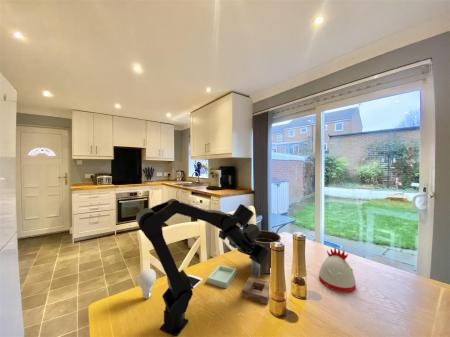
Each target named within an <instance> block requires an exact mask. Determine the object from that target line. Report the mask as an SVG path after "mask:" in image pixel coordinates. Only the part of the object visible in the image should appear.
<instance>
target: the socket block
mask: <svg viewBox="0 0 450 337" xmlns="http://www.w3.org/2000/svg"><path fill="white" fill-rule="evenodd" d="M269 282H270V281H267V280H264V279H260V278H257V277H253V276H249V277H248V279H247V281H246V282H245V284H244V285H243V288H242V289H241V297H242V298H246V299H249V300H251V301H255V302H259V303H263V304H266V305H268V304H269V301H270V298H269Z"/></svg>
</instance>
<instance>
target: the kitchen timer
mask: <svg viewBox="0 0 450 337" xmlns="http://www.w3.org/2000/svg"><path fill="white" fill-rule="evenodd" d="M326 253H327V255H328V256H327V257H326V258H325V259H324V260H323V262H322V263H321V266H320V269H319V273H318V278H319V281H320V282H321V283H322V284H323V285H324V284H325V285H324V286H326V287H328V288H329V287H330V289H332V288H333V289H332V290H334V289H335V291H338V290H339V291H338V292H344V291H345V292H346V291H350V292H353V291H355V290H356V279H355V275H354V272H353V270H354V269H353V268H352V267H351V265H350V264H349V262H348V261H347V260H346V259H347V258H348V256H349V253H347V254H345V249H343V251H342V252H341V249H340V248H338V250H337V248H336V247H334V249H332V248H330V252H329V251H328V250H327V251H326ZM352 290H353V291H352ZM345 292H344V293H345ZM346 293H347V292H346Z"/></svg>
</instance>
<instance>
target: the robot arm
mask: <svg viewBox="0 0 450 337" xmlns="http://www.w3.org/2000/svg"><path fill="white" fill-rule="evenodd" d="M176 214H177V215H181V216H184V217H188V218H192V219H195V220H199V221H203V222H206V223H208V224H210V225H211V226H213V227H216V228H217V229H219V231H218V232H219V233H218V238H220V239H221V240H222V241H225V240H226V239H228V240H229V241H228V244H229V246H230V247H231V248H233V249H237V250H236V251H238V252H239V253H241V254H244V255H247V256H248V259H250V260H251V259H252V260H253V261H255V262H256V263H258V264H261V263H262V262H263V260H264V258H265V257H266V255H267V253H268V252H269V249H268V248H267V247H266V246H264V245H262V244H260V243H259V244H252V243H253V242H254V241H255V240H254V238H255V237H256V236H258V235H259V234H260V233H261V232H260V231H261V230H260V227H259V225H257V224H255V223H249V222H250V220H252V218H253V216H254V215H255V213H254V212H253V211H252V210H251V209H250V208H248V207H246V206H245V205H244V204H241V203H240V204H239V205H238V207H237V208H236V210H235V211H234V212H233V214H231V213H226V212H223V211H221V210H216V209H205V208H202V207H198V206H195V205H192V204H191V203H190V204H189V203H186V202H183V201H180V200H178V199H176V198H170V199H169V200H167V201H165V202H162V203H159V204H157V205H154V206H152V207H148V208H147V207H145V208H143V209H141V210H140V211H139V212H138V213H137V215H136V217H135V220H136V223H137V225H138V228H139V229H140V231H141V232H142V233H143V234H144V236H145V237H146V239H147V240H148V241H149V243H151V245H152V248H153V249H154V251H155V253H156V256H157V258H158V261H159V262H160V265H161V266H162V268H163V271H164V273H165V275H166V279H167V286H168V288H167V289H166V290H165V291H164V293H163V294H162V295H161V297H162V299H163V302H164V304H165V307H164V310H163V324H162V325H160V326H159V330H160V331H162V332H164V333H167V334H168V335H171V336H173V337H178V335H179V334H180V333H181V332H182V330H183V329H184V328H185V327H186V325H188V324H189V319H187V318H186V312H187V310H188V307H189V303H190V300H191V299H192V297H193V295H194V294H193V290H194V288H193V286H192V285H191V283H190V280H189V277H188V275H187V273H186V272H185V270H184V269H181V270H180V269H178V266H177V265H176V262H175V260H174V257H173V256H172V253H171V251H170V249H169V246H168V244H167V242H166V239H165V238H164V231H163V225H162V224H164V223H166V222H167V221H168V220H170V219H171V218H172V217H174V216H175V215H176ZM240 227H241V228H242V229H241V228H240ZM251 246H252V247H251ZM251 252H252V253H251ZM179 270H180V271H179Z"/></svg>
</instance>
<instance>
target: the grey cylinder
mask: <svg viewBox="0 0 450 337" xmlns="http://www.w3.org/2000/svg"><path fill="white" fill-rule="evenodd" d="M251 247H252V246H251ZM251 253H252V252H251ZM250 261H251V262H250V271H251V272H250V275H251V277H252V278H259V277H261V273H260V264H258V263H256V262H255V261H253V260H252V259H250Z"/></svg>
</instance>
